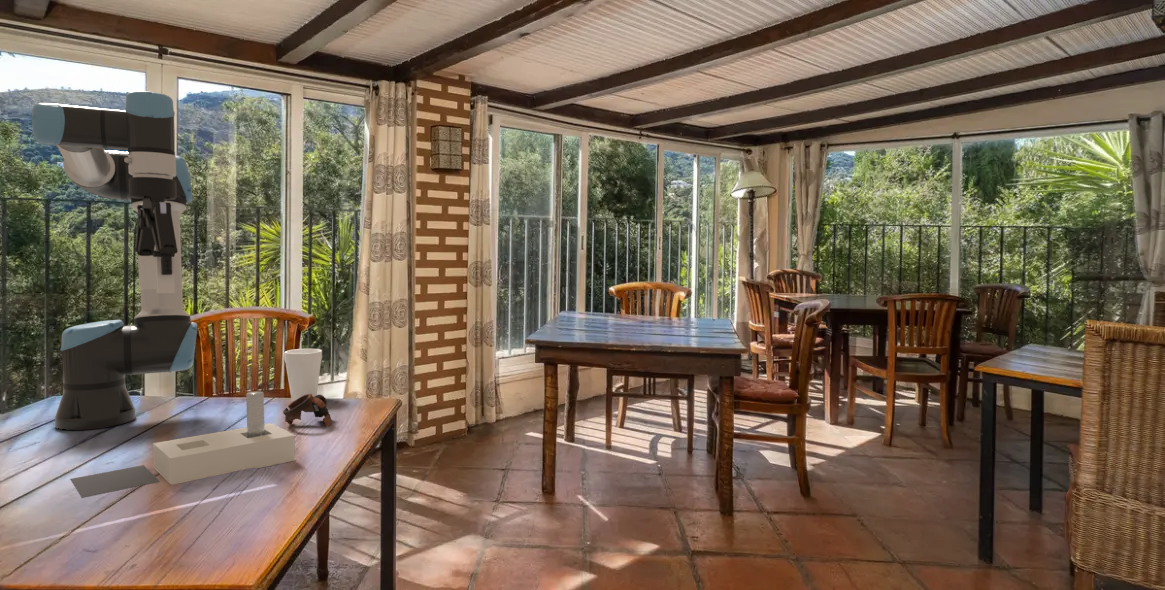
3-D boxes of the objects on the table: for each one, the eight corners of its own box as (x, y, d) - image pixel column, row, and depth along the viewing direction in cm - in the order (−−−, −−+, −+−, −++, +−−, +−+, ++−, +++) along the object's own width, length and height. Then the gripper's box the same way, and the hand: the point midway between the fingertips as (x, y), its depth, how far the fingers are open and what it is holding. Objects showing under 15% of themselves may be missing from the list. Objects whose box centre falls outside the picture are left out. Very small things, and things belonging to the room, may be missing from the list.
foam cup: (299, 404, 175) (298, 355, 174) (277, 399, 180) (276, 351, 179) (330, 397, 183) (329, 350, 182) (308, 393, 188) (308, 347, 187)
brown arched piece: (327, 432, 151) (306, 403, 149) (292, 448, 153) (271, 420, 150) (345, 406, 163) (326, 379, 160) (312, 422, 164) (293, 395, 162)
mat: (70, 481, 117) (70, 478, 117) (143, 467, 125) (143, 464, 125) (82, 500, 109) (81, 497, 109) (160, 483, 117) (160, 481, 117)
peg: (246, 458, 131) (244, 393, 130) (262, 455, 133) (260, 390, 132) (251, 462, 128) (249, 395, 127) (267, 459, 131) (265, 393, 130)
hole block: (153, 469, 124) (153, 443, 123) (271, 446, 138) (271, 423, 138) (171, 486, 115) (170, 458, 115) (294, 460, 130) (294, 435, 130)
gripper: (114, 180, 131) (118, 288, 133) (145, 171, 114) (149, 295, 115) (158, 183, 137) (162, 287, 138) (194, 174, 119) (198, 293, 120)
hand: (156, 291), depth 127 cm, fingers open, 13 cm apart
